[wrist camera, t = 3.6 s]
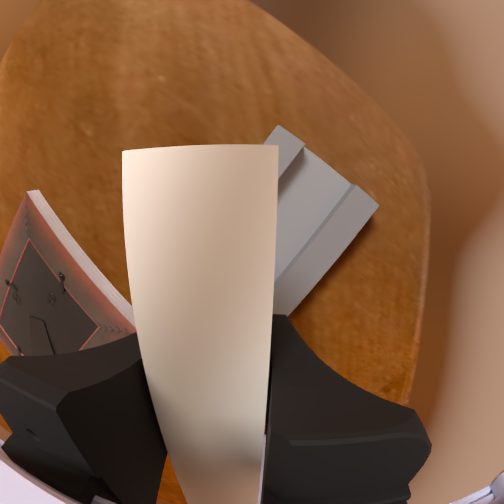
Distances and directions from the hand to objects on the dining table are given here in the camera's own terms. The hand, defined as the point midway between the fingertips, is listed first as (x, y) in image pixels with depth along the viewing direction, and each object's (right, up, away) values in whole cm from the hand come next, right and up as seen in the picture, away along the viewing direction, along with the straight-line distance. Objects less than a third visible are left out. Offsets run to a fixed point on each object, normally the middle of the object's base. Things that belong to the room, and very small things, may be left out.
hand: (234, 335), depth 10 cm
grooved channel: (+1, +3, +10) cm, 10 cm away
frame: (0, 0, +1) cm, 2 cm away
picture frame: (-21, -4, +15) cm, 26 cm away
